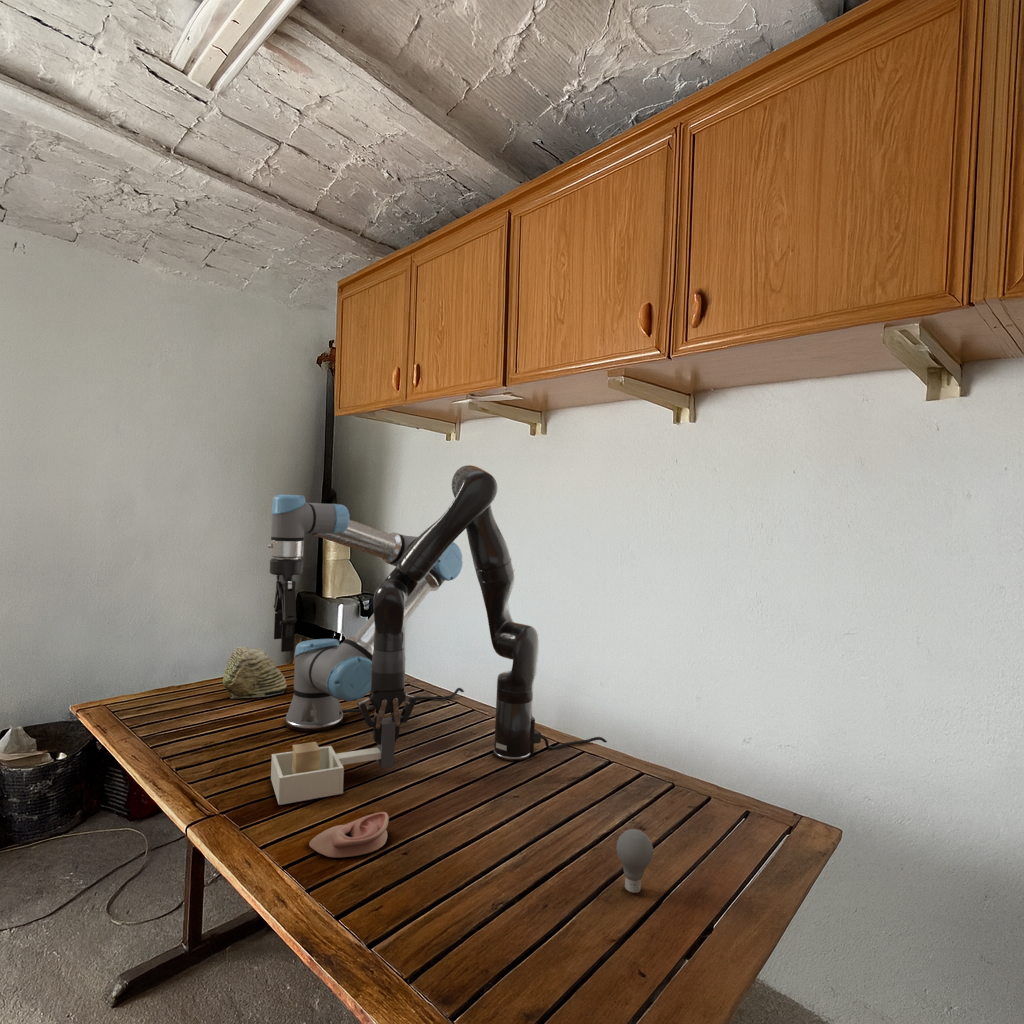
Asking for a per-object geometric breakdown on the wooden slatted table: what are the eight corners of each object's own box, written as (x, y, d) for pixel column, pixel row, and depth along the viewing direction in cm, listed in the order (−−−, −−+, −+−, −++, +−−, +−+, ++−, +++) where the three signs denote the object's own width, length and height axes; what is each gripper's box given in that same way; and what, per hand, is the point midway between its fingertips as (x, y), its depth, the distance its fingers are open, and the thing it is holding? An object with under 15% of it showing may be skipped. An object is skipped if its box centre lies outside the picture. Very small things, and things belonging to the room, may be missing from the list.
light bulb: (610, 879, 108) (613, 822, 108) (644, 879, 109) (647, 822, 109) (619, 902, 102) (622, 840, 102) (655, 901, 103) (658, 840, 103)
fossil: (218, 695, 195) (220, 647, 195) (278, 685, 208) (279, 640, 207) (228, 703, 189) (230, 653, 188) (289, 692, 201) (290, 645, 201)
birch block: (315, 777, 141) (316, 741, 141) (319, 786, 137) (320, 749, 136) (291, 781, 139) (292, 744, 139) (295, 790, 134) (296, 753, 134)
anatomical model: (300, 830, 112) (331, 801, 124) (300, 852, 112) (331, 821, 124) (370, 841, 110) (395, 810, 121) (369, 864, 110) (395, 831, 121)
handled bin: (383, 760, 152) (385, 711, 152) (399, 783, 141) (401, 729, 141) (270, 779, 141) (272, 725, 140) (278, 805, 129) (280, 746, 129)
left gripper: (264, 553, 163) (261, 634, 164) (276, 563, 141) (273, 658, 142) (294, 553, 167) (291, 633, 167) (311, 563, 145) (308, 655, 145)
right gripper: (362, 674, 139) (359, 752, 139) (423, 669, 145) (420, 743, 146) (353, 666, 146) (351, 740, 146) (412, 661, 152) (410, 732, 152)
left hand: (283, 644), depth 154 cm, fingers open, 13 cm apart
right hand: (386, 741), depth 146 cm, fingers closed on handled bin, 3 cm apart
